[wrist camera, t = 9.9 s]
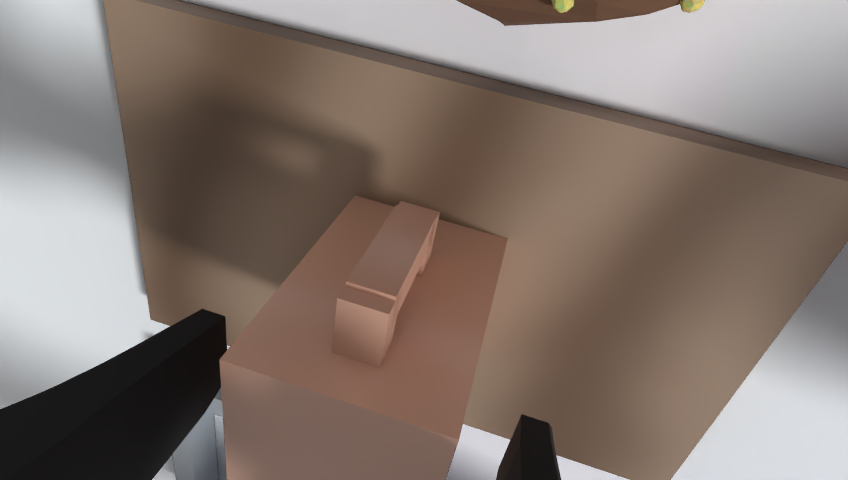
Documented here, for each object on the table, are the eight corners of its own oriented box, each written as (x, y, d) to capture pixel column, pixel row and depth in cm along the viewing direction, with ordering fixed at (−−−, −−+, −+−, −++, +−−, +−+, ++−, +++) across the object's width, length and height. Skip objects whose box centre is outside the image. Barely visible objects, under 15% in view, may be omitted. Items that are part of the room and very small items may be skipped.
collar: (418, 427, 22) (406, 465, 20) (385, 554, 27) (373, 590, 26) (188, 349, 23) (161, 379, 22) (202, 486, 29) (181, 517, 27)
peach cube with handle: (472, 353, 18) (416, 568, 12) (342, 312, 18) (227, 497, 12) (522, 192, 14) (478, 381, 8) (360, 148, 15) (215, 297, 9)
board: (865, 173, 13) (884, 191, 12) (659, 466, 19) (662, 490, 19) (128, -13, 15) (101, -8, 14) (167, 303, 22) (150, 319, 21)
